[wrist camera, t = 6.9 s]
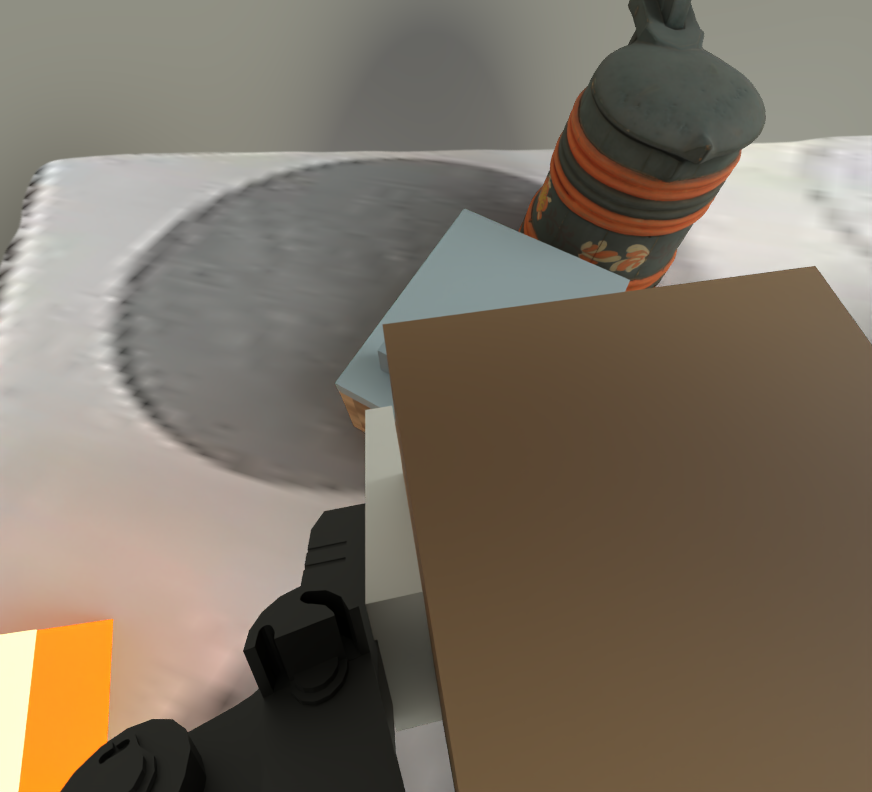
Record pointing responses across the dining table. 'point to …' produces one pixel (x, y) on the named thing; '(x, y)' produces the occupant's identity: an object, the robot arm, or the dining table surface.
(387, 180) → the dining table surface
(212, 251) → the dining table surface
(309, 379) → the dining table surface
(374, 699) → the robot arm
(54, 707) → the orange juice
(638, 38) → the beer stein
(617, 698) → the pin
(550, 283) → the lid
